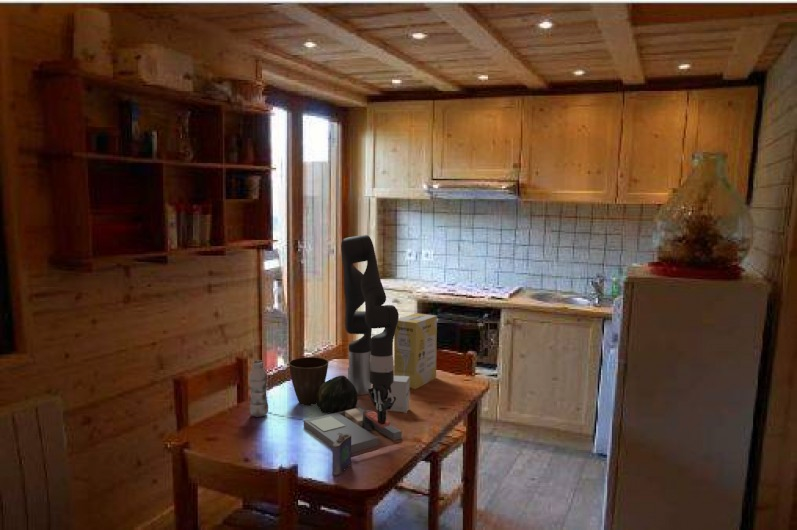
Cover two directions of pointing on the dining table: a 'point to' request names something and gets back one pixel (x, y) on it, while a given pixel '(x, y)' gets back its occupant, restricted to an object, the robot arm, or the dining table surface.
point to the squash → (336, 395)
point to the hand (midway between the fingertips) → (381, 421)
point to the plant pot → (308, 378)
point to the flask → (341, 453)
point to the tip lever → (371, 420)
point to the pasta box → (416, 348)
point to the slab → (354, 416)
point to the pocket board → (348, 431)
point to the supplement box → (400, 393)
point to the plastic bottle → (258, 390)
